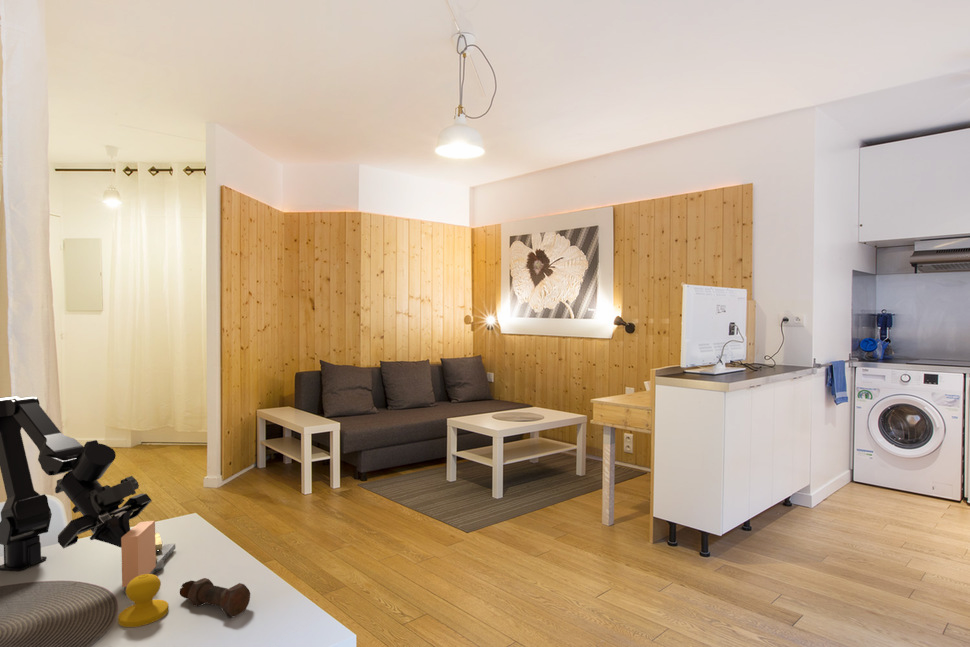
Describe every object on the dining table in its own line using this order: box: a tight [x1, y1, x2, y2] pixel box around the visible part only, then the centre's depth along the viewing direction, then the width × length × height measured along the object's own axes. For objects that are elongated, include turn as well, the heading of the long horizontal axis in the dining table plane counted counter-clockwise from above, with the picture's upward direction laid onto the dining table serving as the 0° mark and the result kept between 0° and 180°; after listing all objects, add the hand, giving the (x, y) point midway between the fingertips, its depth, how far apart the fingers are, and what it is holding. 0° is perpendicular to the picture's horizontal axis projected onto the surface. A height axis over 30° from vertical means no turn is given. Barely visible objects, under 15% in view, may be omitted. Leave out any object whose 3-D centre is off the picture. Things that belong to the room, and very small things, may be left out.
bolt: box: [179, 577, 251, 618], centre depth 107 cm, size 6×5×15 cm
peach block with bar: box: [120, 520, 176, 594], centre depth 122 cm, size 4×22×11 cm, turn 11°
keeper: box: [155, 532, 163, 551], centre depth 131 cm, size 9×5×4 cm, turn 35°
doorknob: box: [117, 573, 170, 628], centre depth 103 cm, size 8×8×8 cm
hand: (131, 548), depth 117 cm, fingers closed
